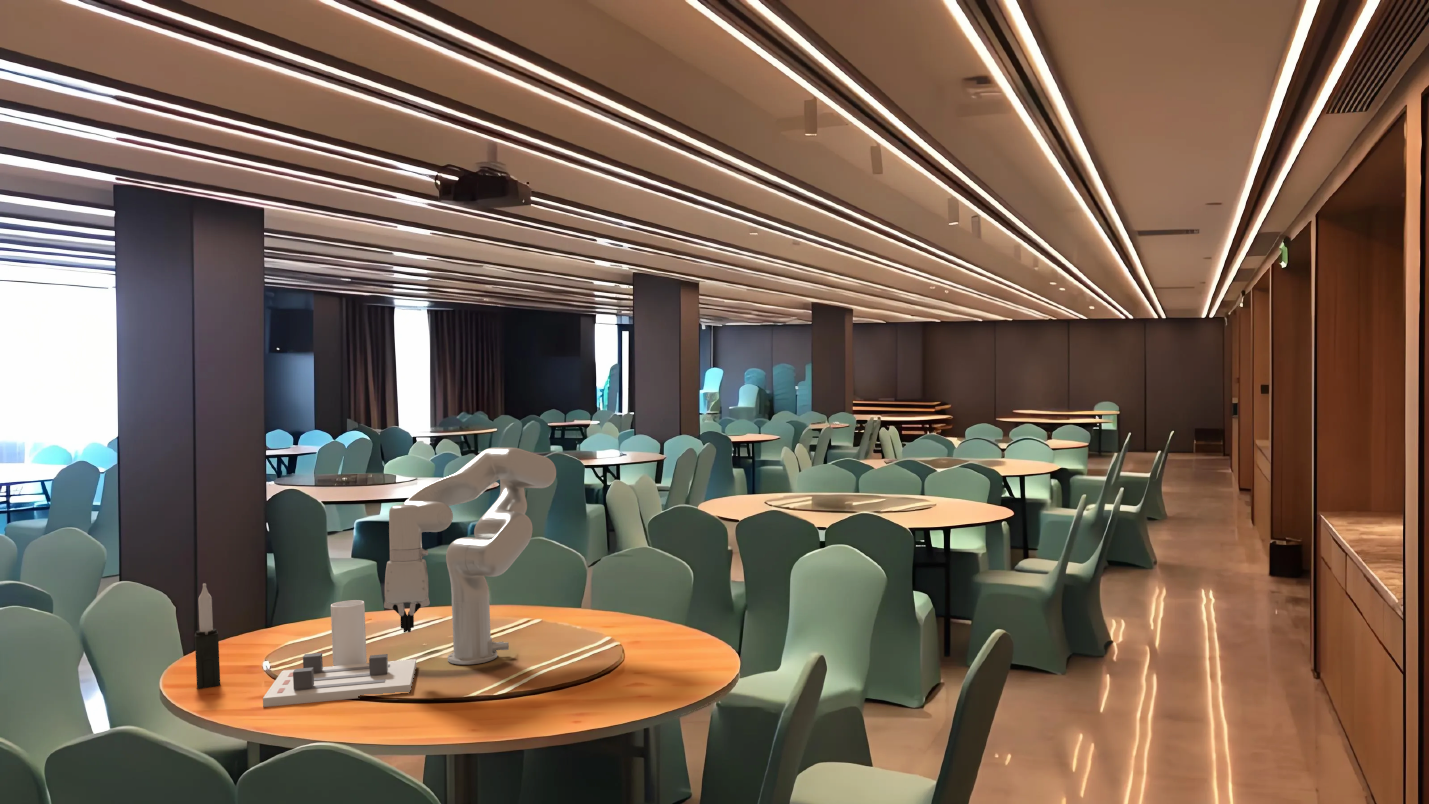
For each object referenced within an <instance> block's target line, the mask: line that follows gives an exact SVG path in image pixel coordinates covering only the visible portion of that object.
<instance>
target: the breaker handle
mask: <svg viewBox="0 0 1429 804" xmlns="http://www.w3.org/2000/svg"><path fill="white" fill-rule="evenodd" d="M388 655H389V654H388V653H382V654H371V655H369V658H368V661H369V662H368V663H369V669H370V675H376V674H387V672H388V661H389V659H388V658H389V657H388Z"/></svg>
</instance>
